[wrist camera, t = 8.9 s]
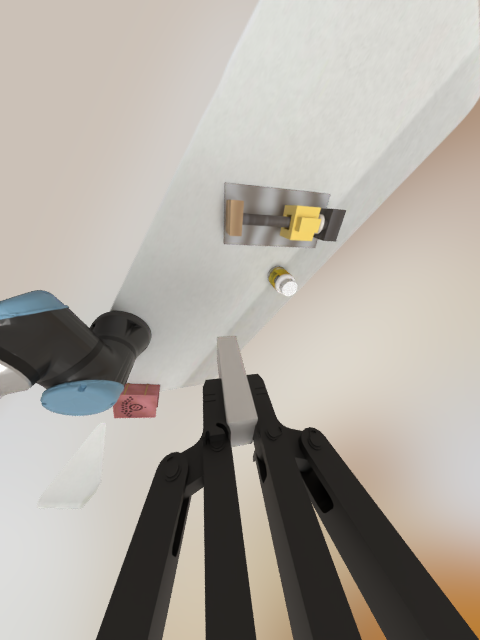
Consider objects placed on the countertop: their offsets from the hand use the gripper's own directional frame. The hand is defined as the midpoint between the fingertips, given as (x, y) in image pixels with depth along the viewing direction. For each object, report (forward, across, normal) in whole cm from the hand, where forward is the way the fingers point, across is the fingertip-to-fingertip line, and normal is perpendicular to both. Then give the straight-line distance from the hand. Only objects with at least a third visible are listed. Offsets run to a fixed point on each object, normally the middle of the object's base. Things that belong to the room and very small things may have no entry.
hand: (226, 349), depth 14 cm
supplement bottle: (+36, +19, -6) cm, 42 cm away
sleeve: (+32, +19, +8) cm, 38 cm away
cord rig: (+36, +16, +8) cm, 40 cm away
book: (+37, -29, -55) cm, 72 cm away
